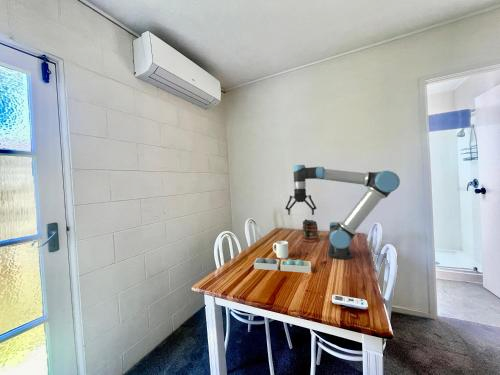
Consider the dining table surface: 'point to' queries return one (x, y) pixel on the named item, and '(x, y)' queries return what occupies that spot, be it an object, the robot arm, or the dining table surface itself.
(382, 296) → the dining table surface
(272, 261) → the charcoal ball
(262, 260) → the charcoal ball
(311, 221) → the beer stein
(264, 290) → the dining table surface
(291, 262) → the teal ball
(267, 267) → the tray grey
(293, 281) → the dining table surface
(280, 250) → the cup
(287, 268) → the tray cream
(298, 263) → the teal ball in tray
